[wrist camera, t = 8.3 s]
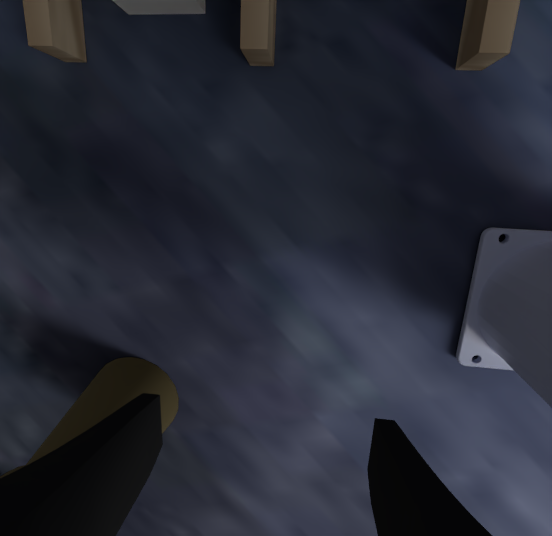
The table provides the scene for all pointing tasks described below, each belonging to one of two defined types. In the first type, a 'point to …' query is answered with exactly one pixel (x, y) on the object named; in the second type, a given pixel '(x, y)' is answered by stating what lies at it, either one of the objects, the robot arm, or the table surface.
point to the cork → (112, 400)
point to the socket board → (272, 31)
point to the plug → (162, 6)
